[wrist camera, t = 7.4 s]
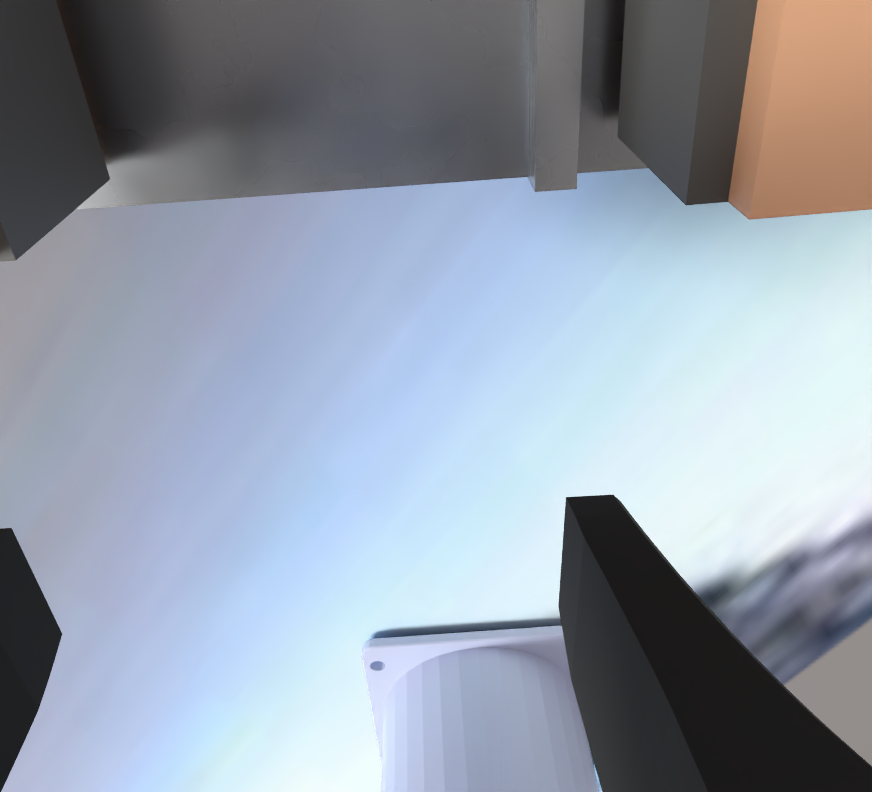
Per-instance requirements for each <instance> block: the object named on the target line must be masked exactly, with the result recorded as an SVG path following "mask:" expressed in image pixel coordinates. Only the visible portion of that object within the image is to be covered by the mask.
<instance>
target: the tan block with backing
mask: <svg viewBox="0 0 872 792" xmlns="http://www.w3.org/2000/svg"><path fill="white" fill-rule="evenodd" d="M617 137H618V138H619V139H620V140H621V141H622V142H623V143H624V144H625V145H626V146H627V147H628V148H629V149H630V150H631V151H632V152H633V153H634V154H635V155H636V156H637V157H638V158H639V159H640V160H641V161H642V162H643V163H644V164H645V165H646V166H647V167H648V168H649V169H650V170H651V171H652V172H653V173H654V174H655V175H656V176H657V177H658V178H659V179H660V180H661V181H662V182H663V183H664V184H665V185H666V186H667V187H668V188H669V189H670V190H671V191H672V192H673V193H674V194H675V195H676V196H677V197H678V198H679V199H680V200H681V201H682V202H683V203H684V204H685V205H694V204H706V203H718V202H729V203H730V204H731V205H733V206H734V207H735V208H736V209H737V210H738V211H740V212H741V213H742V214H743V215H744V216H746V217H747V218H748V219H760V218H772V217H784V216H796V215H808V214H820V213H832V212H844V211H856V210H868V209H872V0H626V1H625V18H624V34H623V51H622V68H621V84H620V101H619V118H618V134H617Z"/></svg>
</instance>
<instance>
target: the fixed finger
mask: <svg viewBox="0 0 872 792" xmlns="http://www.w3.org/2000/svg"><path fill="white" fill-rule="evenodd" d="M109 180H110V176H109V173H108V170H107V166H106V163H105V160H104V157H103V153H102V150H101V147H100V143H99V140H98V137H97V134H96V130H95V127H94V124H93V120H92V117H91V114H90V111H89V107H88V104H87V101H86V97H85V94H84V91H83V88H82V84H81V81H80V78H79V75H78V71H77V68H76V65H75V61H74V58H73V55H72V52H71V48H70V45H69V42H68V38H67V35H66V32H65V29H64V25H63V22H62V19H61V15H60V12H59V9H58V6H57V2H56V0H0V261H14V260H17V259H18V258H19V257H20V256H22V255H23V254H24V253H25V252H26V251H27V250H28V249H30V248H31V247H32V246H33V245H34V244H35V243H37V242H38V241H39V240H40V239H41V238H42V237H44V236H45V235H46V234H47V233H48V232H49V231H51V230H52V229H53V228H54V227H55V226H56V225H58V224H59V223H60V222H61V221H62V220H63V219H65V218H66V217H67V216H68V215H69V214H70V213H72V212H73V211H74V210H75V209H76V208H77V207H79V206H80V205H81V204H82V203H83V202H84V201H86V200H87V199H88V198H89V197H90V196H91V195H93V194H94V193H95V192H96V191H97V190H98V189H100V188H101V187H102V186H103V185H104V184H105V183H107V182H108V181H109Z"/></svg>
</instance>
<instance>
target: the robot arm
mask: <svg viewBox="0 0 872 792" xmlns="http://www.w3.org/2000/svg"><path fill="white" fill-rule="evenodd" d="M559 612H560V618H561V624H562V625H561V626H547V627H532V628H518V629H504V630H490V631H475V632H461V633H447V634H433V635H418V636H404V637H390V638H375V639H370V640H368V641H367V642H365V643H364V644H363V646H362V661H363V667H364V672H365V678H366V683H367V689H368V694H369V700H370V705H371V711H372V716H373V722H374V727H375V733H376V738H377V743H378V749H379V754H380V760H381V765H382V782H381V792H599V788H598V784H597V779H596V775H595V770H594V766H593V761H592V757H591V753H592V756H593V760H594V763H595V767H596V770H597V774H598V777H599V781H600V784H601V788H602V791H603V792H872V766H871V765H870V764H868V763H867V762H866V761H865V760H864V759H863V758H862V757H861V756H859V755H858V754H857V753H856V752H855V751H854V750H853V749H851V748H850V747H849V746H848V745H847V744H846V743H845V742H844V741H842V740H841V739H840V738H839V737H838V736H837V735H836V734H835V733H833V732H832V731H831V730H830V729H829V728H828V727H826V725H825V724H823V723H822V722H821V721H820V720H819V719H818V718H817V717H816V716H815V715H814V714H813V713H812V712H811V711H809V710H808V709H807V708H806V707H805V706H804V705H803V704H802V703H801V702H800V701H799V700H798V699H797V698H796V697H795V696H794V695H793V694H792V693H791V692H790V691H789V690H788V689H786V688H785V686H784V685H783V684H782V683H780V682H779V681H778V680H777V679H776V678H775V677H774V676H773V675H772V674H771V673H770V672H769V671H768V670H767V669H766V668H765V667H764V666H763V665H762V664H761V663H760V662H759V661H758V660H757V659H756V658H755V657H754V656H753V655H752V653H751V652H750V651H749V650H748V649H747V648H746V647H745V646H744V645H743V644H742V643H741V642H740V641H739V640H738V639H737V638H736V637H735V636H734V635H733V634H732V633H731V631H730V630H729V629H728V628H727V627H726V626H725V625H724V624H723V623H722V622H721V621H720V619H719V618H718V617H717V616H716V615H715V614H714V613H713V612H712V611H711V609H710V608H709V607H708V606H707V605H706V604H705V603H704V602H703V601H702V600H701V598H700V597H699V596H698V595H697V594H696V593H695V592H694V591H693V590H692V588H691V587H690V586H689V585H688V584H687V583H686V582H685V580H684V579H683V578H682V577H681V576H680V575H679V573H678V572H677V571H676V570H675V569H674V568H673V566H672V565H671V564H670V563H669V562H668V560H667V559H666V558H665V557H664V556H663V554H662V553H661V552H660V551H659V550H658V548H657V547H656V546H655V545H654V543H653V542H652V541H651V540H650V538H649V537H648V536H647V535H646V534H645V532H644V531H643V530H642V528H641V527H640V526H639V525H638V523H637V522H636V521H635V520H634V518H633V517H632V516H631V514H630V513H629V512H628V511H627V509H626V508H625V507H624V505H623V504H622V503H621V502H620V501H619V500H618V499H617V498H616V497H615V496H614V495H600V496H582V497H566V507H565V521H564V536H563V550H562V564H561V579H560V593H559ZM61 636H62V633H61V631H60V628H59V626H58V624H57V622H56V620H55V618H54V616H53V614H52V612H51V610H50V608H49V606H48V603H47V601H46V599H45V597H44V595H43V593H42V591H41V589H40V587H39V585H38V583H37V580H36V578H35V576H34V574H33V572H32V570H31V568H30V566H29V564H28V562H27V560H26V557H25V555H24V553H23V551H22V549H21V547H20V545H19V543H18V541H17V539H16V537H15V535H14V532H13V530H12V528H5V529H0V792H1V790H2V788H3V786H4V784H5V782H6V780H7V778H8V776H9V773H10V771H11V769H12V767H13V765H14V762H15V760H16V758H17V756H18V754H19V752H20V749H21V747H22V745H23V743H24V741H25V738H26V736H27V734H28V732H29V730H30V727H31V725H32V723H33V721H34V718H35V716H36V714H37V712H38V709H39V706H40V703H41V700H42V697H43V694H44V691H45V688H46V685H47V682H48V679H49V676H50V673H51V670H52V666H53V663H54V660H55V656H56V653H57V650H58V646H59V643H60V639H61ZM588 742H589V743H588ZM589 746H590V748H589ZM590 749H591V752H590Z"/></svg>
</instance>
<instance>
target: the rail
mask: <svg viewBox="0 0 872 792" xmlns="http://www.w3.org/2000/svg"><path fill="white" fill-rule="evenodd" d="M625 1H626V0H56V2H57V6H58V9H59V12H60V15H61V19H62V22H63V25H64V29H65V32H66V35H67V38H68V42H69V45H70V48H71V52H72V55H73V58H74V61H75V65H76V68H77V71H78V75H79V78H80V81H81V84H82V88H83V91H84V94H85V97H86V101H87V104H88V107H89V111H90V114H91V117H92V120H93V124H94V127H95V130H96V134H97V137H98V140H99V143H100V147H101V150H102V153H103V157H104V160H105V163H106V166H107V170H108V173H109V176H110V180H109V181H108V182H107V183H105V184H104V185H103V186H102V187H101V188H100V189H98V190H97V191H96V192H95V193H94V194H93V195H91V196H90V197H89V198H88V199H87V200H86V201H84V202H83V203H82V204H81V205H80V206H79V207H77V208H76V209H88V208H102V207H116V206H130V205H143V204H157V203H171V202H185V201H199V200H213V199H226V198H240V197H254V196H268V195H282V194H295V193H309V192H323V191H337V190H351V189H365V188H378V187H392V186H406V185H420V184H434V183H448V182H461V181H475V180H489V179H503V178H517V177H528V179H529V181H530V183H531V185H532V187H533V189H534V191H535V192H538V191H552V190H566V189H577V173H586V172H600V171H614V170H627V169H641V168H648V167H647V166H646V165H645V164H644V163H643V162H642V161H641V160H640V159H639V158H638V157H637V156H636V155H635V154H634V153H633V152H632V151H631V150H630V149H629V148H628V147H627V146H626V145H625V144H624V143H623V142H622V141H621V140H620V139H619V138H618V137H617V134H618V118H619V101H620V84H621V68H622V51H623V34H624V18H625Z"/></svg>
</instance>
